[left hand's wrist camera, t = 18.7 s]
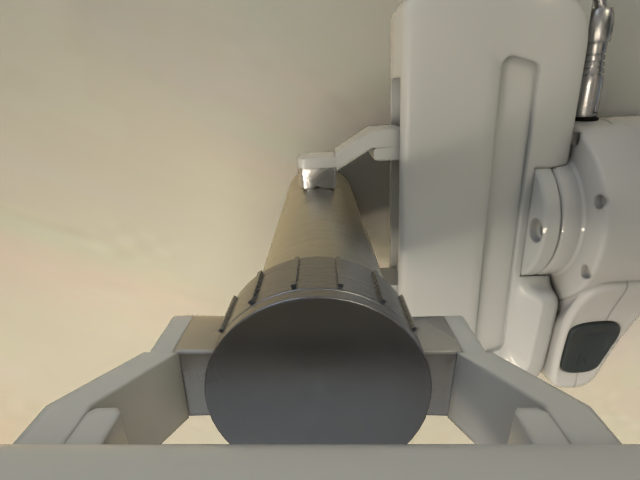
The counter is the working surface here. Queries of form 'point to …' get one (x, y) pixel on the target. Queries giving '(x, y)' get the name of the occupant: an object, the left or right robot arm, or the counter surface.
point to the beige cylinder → (321, 226)
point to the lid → (318, 359)
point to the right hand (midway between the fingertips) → (302, 225)
